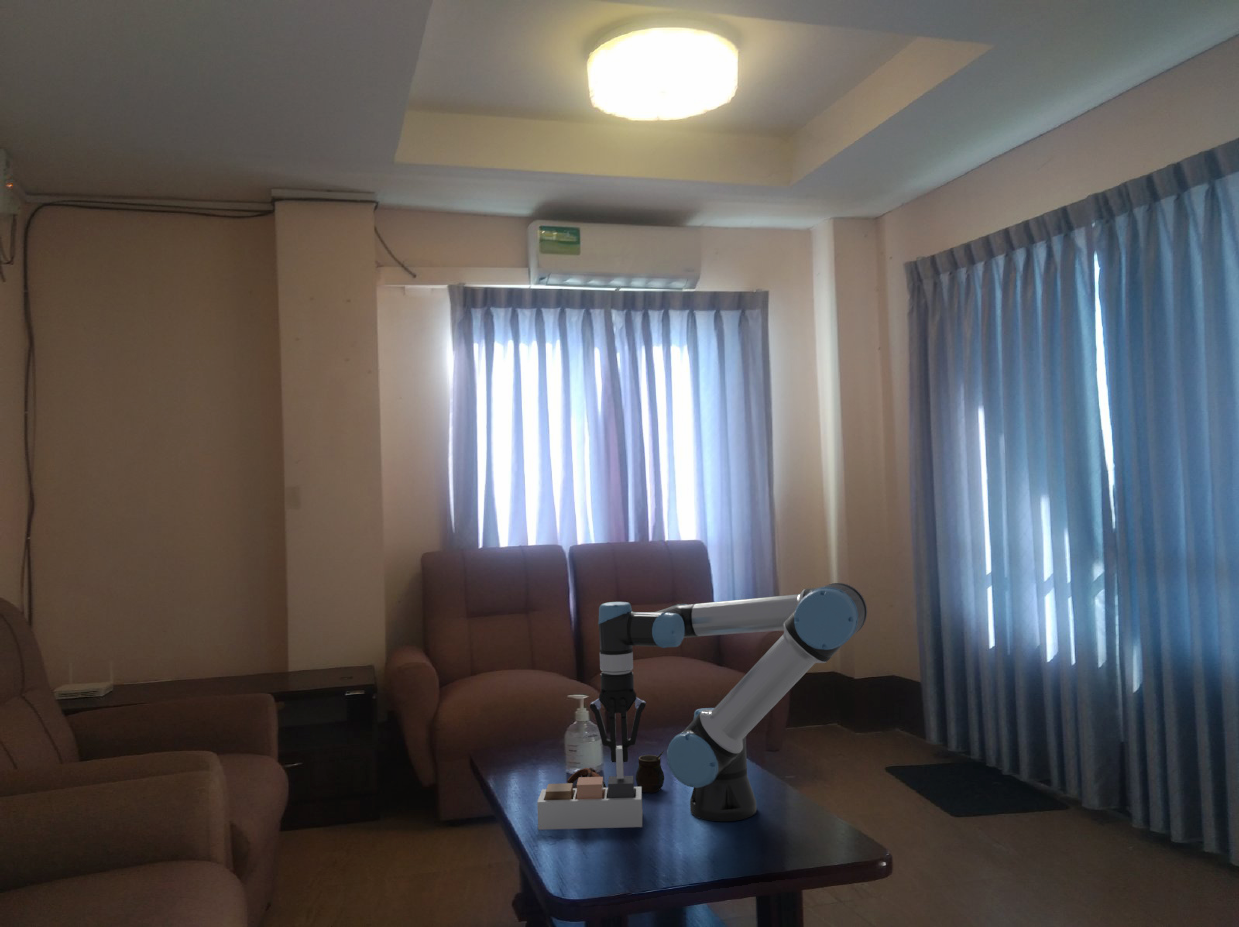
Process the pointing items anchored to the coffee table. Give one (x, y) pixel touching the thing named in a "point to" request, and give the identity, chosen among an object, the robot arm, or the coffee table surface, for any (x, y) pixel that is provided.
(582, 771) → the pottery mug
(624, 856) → the coffee table surface
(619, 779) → the black rubber key
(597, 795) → the terracotta key
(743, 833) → the coffee table surface
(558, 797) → the walnut key
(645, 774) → the mate gourd
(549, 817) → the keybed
